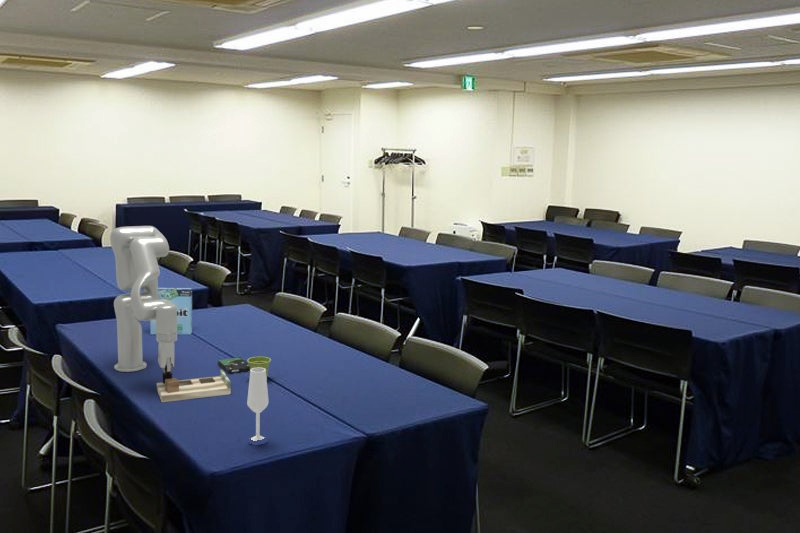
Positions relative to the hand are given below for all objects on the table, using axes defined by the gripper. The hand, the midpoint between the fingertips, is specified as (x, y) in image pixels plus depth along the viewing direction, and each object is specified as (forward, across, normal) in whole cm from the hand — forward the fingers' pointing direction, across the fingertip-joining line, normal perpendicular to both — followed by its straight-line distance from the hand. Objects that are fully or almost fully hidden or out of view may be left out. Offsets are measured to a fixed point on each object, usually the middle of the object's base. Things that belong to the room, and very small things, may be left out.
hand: (167, 382), depth 258 cm
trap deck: (+3, +4, +9) cm, 10 cm away
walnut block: (+1, +6, +1) cm, 7 cm away
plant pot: (+4, -1, +36) cm, 36 cm away
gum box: (+4, -83, +12) cm, 84 cm away
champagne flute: (+3, +56, +21) cm, 60 cm away
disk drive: (+4, -20, +30) cm, 36 cm away
